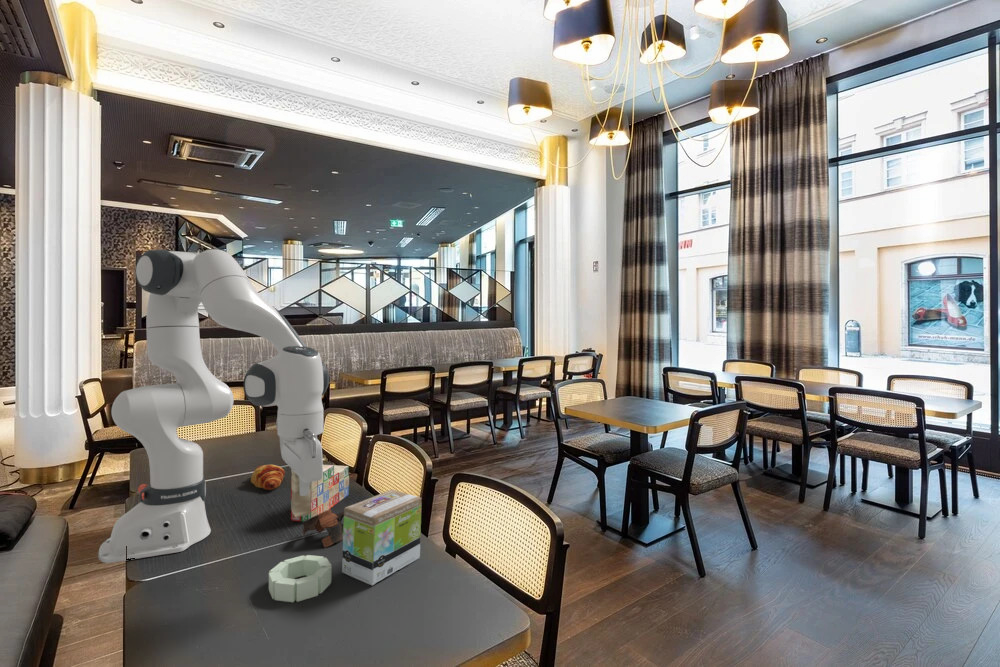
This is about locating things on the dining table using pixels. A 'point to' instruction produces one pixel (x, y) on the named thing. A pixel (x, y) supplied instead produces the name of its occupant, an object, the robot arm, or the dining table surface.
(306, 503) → the wooden block
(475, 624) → the dining table surface
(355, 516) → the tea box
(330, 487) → the stack of blocks
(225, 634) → the dining table surface
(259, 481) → the croissant
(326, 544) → the pottery mug
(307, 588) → the sage ring
